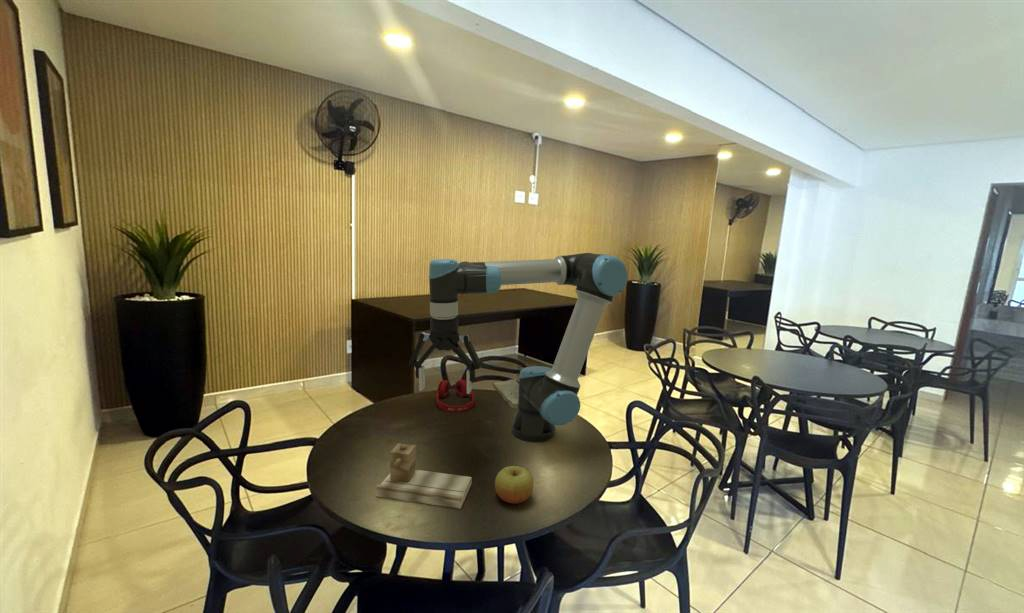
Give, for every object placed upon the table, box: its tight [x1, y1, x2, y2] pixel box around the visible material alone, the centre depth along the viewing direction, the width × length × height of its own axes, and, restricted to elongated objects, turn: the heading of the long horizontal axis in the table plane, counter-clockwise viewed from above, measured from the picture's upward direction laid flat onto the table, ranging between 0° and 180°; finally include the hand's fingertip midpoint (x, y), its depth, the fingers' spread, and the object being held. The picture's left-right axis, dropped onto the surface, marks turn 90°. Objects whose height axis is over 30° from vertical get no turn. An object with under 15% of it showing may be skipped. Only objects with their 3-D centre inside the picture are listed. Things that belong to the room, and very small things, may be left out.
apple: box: [494, 465, 534, 505], centre depth 112 cm, size 10×10×8 cm
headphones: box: [435, 379, 475, 413], centre depth 173 cm, size 15×7×20 cm
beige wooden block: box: [389, 442, 417, 483], centre depth 114 cm, size 5×8×9 cm, turn 171°
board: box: [376, 469, 473, 510], centre depth 114 cm, size 22×11×3 cm, turn 81°
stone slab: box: [492, 378, 519, 410], centre depth 181 cm, size 12×4×30 cm
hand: (445, 390), depth 122 cm, fingers open, 13 cm apart
